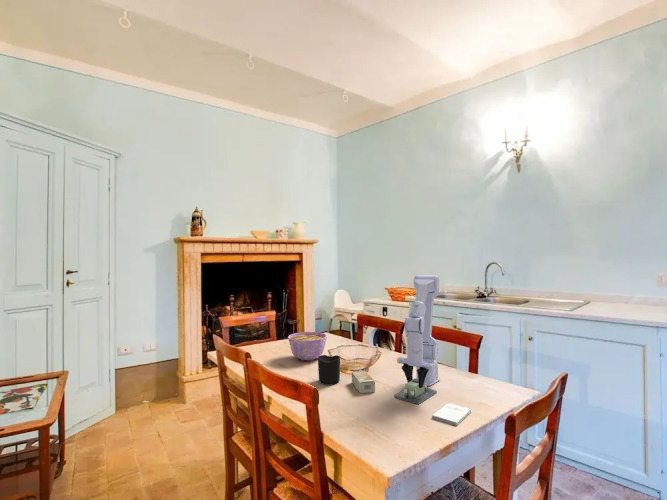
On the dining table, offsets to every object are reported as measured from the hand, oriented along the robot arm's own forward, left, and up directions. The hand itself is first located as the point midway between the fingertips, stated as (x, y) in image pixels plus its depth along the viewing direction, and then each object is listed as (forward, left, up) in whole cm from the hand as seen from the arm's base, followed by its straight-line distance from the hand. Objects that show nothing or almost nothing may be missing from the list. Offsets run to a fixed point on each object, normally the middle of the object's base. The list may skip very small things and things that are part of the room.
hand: (415, 385), depth 134 cm
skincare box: (+10, -15, -1) cm, 18 cm away
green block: (0, 0, -3) cm, 3 cm away
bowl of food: (-7, -66, -4) cm, 66 cm away
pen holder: (+10, -35, -4) cm, 37 cm away
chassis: (0, 0, -3) cm, 3 cm away
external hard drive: (+7, +17, -4) cm, 19 cm away
